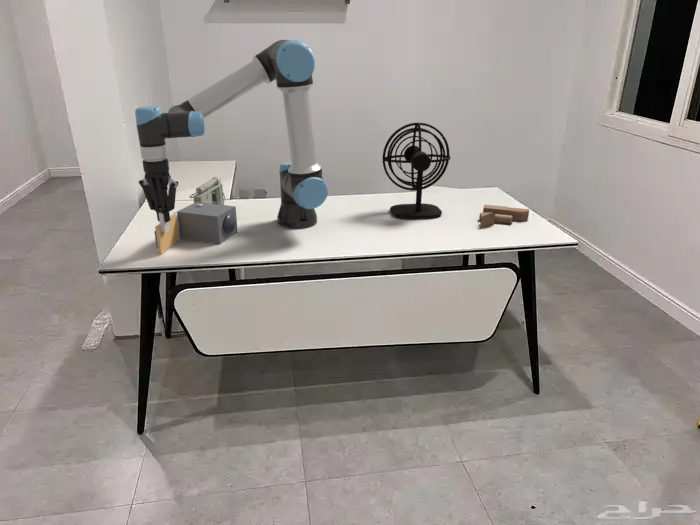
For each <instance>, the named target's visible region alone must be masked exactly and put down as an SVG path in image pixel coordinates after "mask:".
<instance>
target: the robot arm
mask: <svg viewBox="0 0 700 525" xmlns="http://www.w3.org/2000/svg"><path fill="white" fill-rule="evenodd" d="M315 68H316V59H315V55H314V53H313V51H312V49H311V48H310V47H309V46H308V45H307V44H305V43H303V42H302V41H300V40H297V39H279V40H277V41H275V42H273V43H271V44H270V45H269V46H267V47H266V48H264V49H262V50H261V51H260V52H259V53H257V54H255V55H254V56H252V60H251V61H250V62H248V63H247V64H246V65H243V66H242V67H240V68H238V69H237V70H236V71H235V70H234V71H233V72H231V73H230V74H228V75H227V76H225V77H224V78H221V79H220V80H218V81H216V82H215V83H213V84H212V85H210V86H208V87H206V88H205V89H203V90H201V91H200V92H198V93H196V94H195V95H193V96H191V97H190V98H188V99H186V100H184V101H183V102H181V103H180V104H177V105H173V106H171V107H170V108H169V109H168V112H163V111H162V108H161V107H160V106H157V105H152V106H151V105H146V106H139V107H137V108H136V109H135V110H134V112H135V124H136V131H137V137H138V141H139V149H140V156H141V159H142V160H141V161H142V168H143V173H144V177H143V178H142V179H140V180H139V181H138V184H139V186H140V187H141V188H142V191H143V194H144V196H145V199H146V201H147V204H148V206H149V209H150V210H151V211H155V212H156V218H157V222H159V224H160V226H161V232H167V231H169V230H170V227H169V221H170V216H171V215H170V212H171V211H173V210H175V209H176V208H175V207H176V205H175V204H176V197H177V196H176V193H177V188H178V186H179V181H177V180H176V181H175V180H174V179H172V177H171V175H170V164H169V159H168V158H167V157H168V152H167V145H166V139H177V138H178V139H179V138H195V137H202V136H204V135H205V132H206V131H205V129H206V128H205V121H204V120H205V118H207V117H209V116H210V115H212V114H214V113H215V112H217V111H219V110H221V109H222V108H224V107H225V106H227V105H229V104H231V103H232V102H234V101H236V100H237V99H239V98H240V97H242V96H244V95H245V94H247V93H249V92H251V91H252V90H254V89H255V88H257V87H259V86H260V85H263V84H264V83H266V84H270V83H272V82H273V81H275V82H276V88H277V89H278V90H279V91H281V93H282V98H283V99H282V100H283V106H284V114H285V116H284V117H285V122H286V130H287V138H288V145H289V147H288V148H289V155H290V161H287V162H282V163H281V164H280V165H279V171H278V173H279V182H280V183H279V184H280V185H279V188H280V206H279V208H278V214H277V218H276V220H277V225H279V226H280V227H282V228H286V229H304V228H310V227H312V226H315V225H316V224H317V223H318V215H317V212H316V210H315V209H317V208H319V207H320V206H322V205H323V203H325V201H327V200H326V199H327V198H328V194H329V188H328V185H327V182H326V181H325V180H324V178H323V177H324V176H323V169H322V165H321V164H320V163H318V161H317V152H316V143H315V135H314V125H313V115H312V114H313V113H312V106H311V105H312V104H311V97H310V95H311V94H310V89H311V88H312V86H313V85H314V79H313V73H314V71H315Z"/></svg>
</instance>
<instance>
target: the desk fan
mask: <svg viewBox="0 0 700 525" xmlns="http://www.w3.org/2000/svg"><path fill="white" fill-rule="evenodd" d="M413 126H414V127H413ZM421 126H425V127H429V128H431V129H433V130H434V131H436V132H437V133H438V134H439V136H440V137H441V138H442V140H443V142H444V144H443V142H442V141H441V139H440V138H439V137H438V136H437V135H436V134H435V133H433V132H432V131H430V130H428V129H426V128H423V127H421ZM409 127H412V128H409ZM402 130H403V131H402ZM417 132H418V135H417ZM422 133H427V134H430V135H431V136H432V137H433V138H434V139H435V140H436V142H437V143H438V147H439V152H440V153H438V151H437V148H436V147H435V146H434V145H433V144H432V143H431V142H429V141H428V140H427V139H426V138H424V137H422ZM409 134H413V135H412V136H411V135H409ZM407 135H409V136H408V137H406V136H407ZM404 137H405V138H404ZM403 138H404V139H403ZM411 138H412V141H410V142H408V143H407V144H406V145H405V146H404V147H403V148H402V150H401V151H400V154H397V153H398V149H399V148H400V146H401V145H402V144H403V143H404V142H405V141H407V140H408V139H411ZM416 138H418V139H416ZM401 139H403V140H401ZM399 141H400V142H399ZM416 142H418V146H417V145H416ZM422 142H424V143H427V144H428V147H429V149H430V154H429V153H426V152H425V151H422ZM397 144H398V145H397ZM411 144H412V145H411ZM396 145H397V147H396ZM444 145H445V147H444ZM395 147H396V148H395ZM445 148H446V149H445ZM387 149H388V150H387ZM433 149H434V151H435V153H433V152H434V151H433ZM394 150H395V153H394V155H392V154H393V151H394ZM386 152H387V153H386ZM386 155H387V156H386ZM397 158H398V159H397ZM402 158H404V160H403V159H402ZM433 158H436V159H433ZM450 160H451V156H450V147H449V143H448V140H447V139H446V137H445V136H444V134H443V133H442V132H441V131H440V130H439V129H438V128H437V127H435V126H433V125H431V124H430V123H429V124H428V123H425V122H411V123H408V124H405V125H403V126H401V127H399V128H398V129H396V130H395V131H394V132H393V133H392V134H391V135H390V136H389V137H388V139H387V141H386V143H385V145H384V148H383V152H382V167H383V170H384V172H385V174H386V176H387V178H388V179H389V180H390V181H391V182H392V184H394V185H395V186H396V187H398V188H400V189H403V190H405V191H414V192H416V193H415V194H416V197H415V203H401V204H395V205H392V206H390V208H389V212H390V213H391V214H392V216H394V217H396V218H401V219H429V218H430V219H431V218H437V217H439V216H441V215H443V211H442V210H441V208H440V207H439V206H437V205H435V204H431V203H422V197H423V196H422V195H423V190H425V189H427V188H430V187H431V186H433V185H434V184H436V183H437V182H438V181H439V180H441V178H442V177H443V175H444V174H445V172H446V170H447V168H448V166H449V163H450ZM386 162H387V165H388V168H389V171H390V172H391V174H392V175H393V176H394V178H396V180H397V181H399V182H400V183H402V184H403V185H406V186H403V185H401V184H399V183H398V182H396V181H395V180H394V179H393V178H392V177H391V176H390V174H389V172H388V169H387V165H386ZM392 163H395V164H396V166H397V167H398V169H400V170H401V171H402V173H403V175H404V176H407V178H410V179H411V181H409V180H404V179H402V178H400V177H399V176H398V175H397V174H396V172H395V171H394V169H393V166H392ZM432 163H435V165H434V167H433V169H432V170H431V171H430V172H429V173H427V174H426V175H424V172H426V171H427V170H428V169H429V168H430V167H431V164H432ZM402 164H410V166H411V168H410V169H411V170H410V172H409V171H406V170H404V169H403V166H402ZM415 170H416V171H415ZM414 171H415V172H414ZM409 174H410V175H409ZM415 175H416V177H415ZM415 180H416V181H415ZM407 186H409V187H407Z"/></svg>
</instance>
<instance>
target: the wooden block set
mask: <svg viewBox="0 0 700 525" xmlns="http://www.w3.org/2000/svg"><path fill="white" fill-rule="evenodd" d="M529 215H530V209H528V208H520V207H519V208H518V207H510V206H509V207H508V206H503V205H494V204H484V205H483V209H482V212H479V218H478V221H479V222H480V224H479V225H480V226H479V228H480V229H482V228H486V227H491V226H494V225H495V223H498V224H505V225H506V224H507V225H509V224H510V225H512V224H513V223H512V222H514V221H517V222H524V221H528V220H529Z"/></svg>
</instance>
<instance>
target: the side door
mask: <svg viewBox="0 0 700 525" xmlns="http://www.w3.org/2000/svg"><path fill="white" fill-rule="evenodd" d="M169 227H170V230H169V231H167V232H161V226H160V223H158V224H157V225H155V227H154V229H155V230H154V238H155V245H156V249H157V250H158V254H159V255H161V254H164V253H165V251H166V250H168V249H169V248H170V247H171V246H173V244H174V243H177V241H178V240H179V239H180V232H179V224H178V216H177V211H176V212H173V213H172V214H171V215H170V221H169Z"/></svg>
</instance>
